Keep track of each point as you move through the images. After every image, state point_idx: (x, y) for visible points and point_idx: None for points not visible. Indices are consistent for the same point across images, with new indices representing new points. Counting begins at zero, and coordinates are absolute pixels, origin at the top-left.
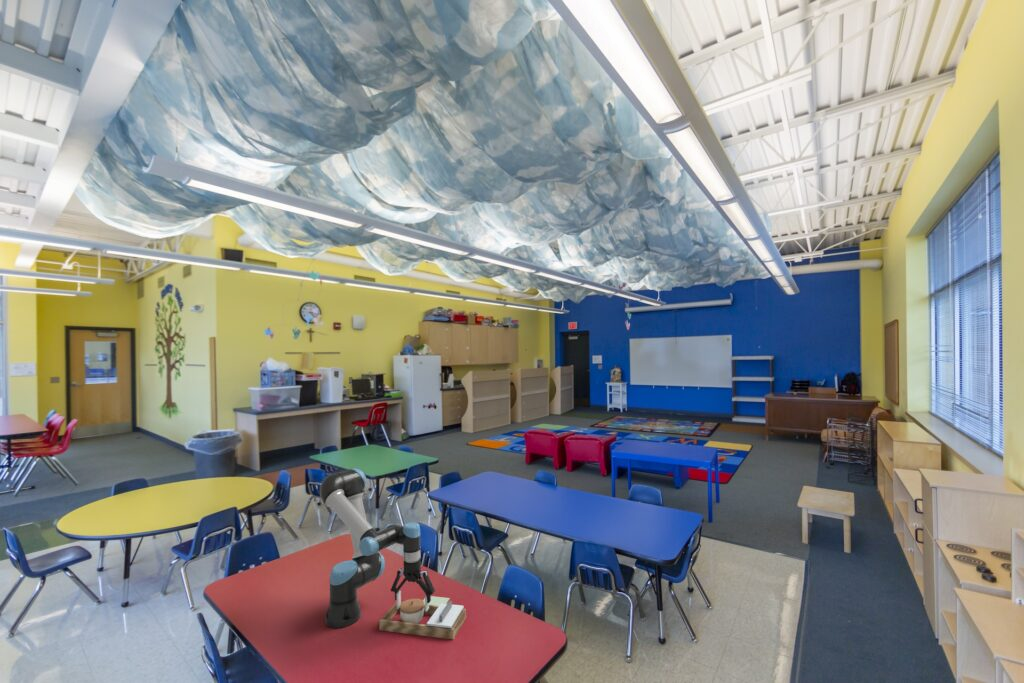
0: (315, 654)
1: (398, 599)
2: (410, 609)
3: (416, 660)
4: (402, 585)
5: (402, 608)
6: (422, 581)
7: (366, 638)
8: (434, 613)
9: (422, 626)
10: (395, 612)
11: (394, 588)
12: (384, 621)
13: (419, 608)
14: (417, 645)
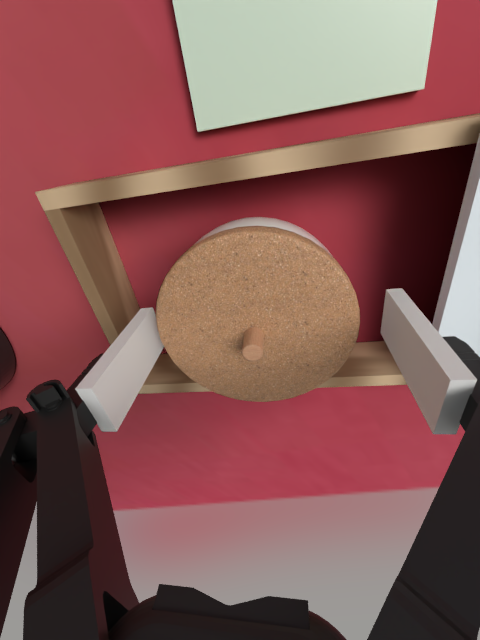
0: None
1: (138, 383)
2: (281, 388)
3: (397, 454)
4: (99, 492)
5: (216, 388)
6: (475, 616)
7: (148, 406)
8: (453, 299)
9: (384, 383)
10: (104, 235)
11: (33, 449)
12: (160, 391)
13: (342, 362)
14: (371, 402)
